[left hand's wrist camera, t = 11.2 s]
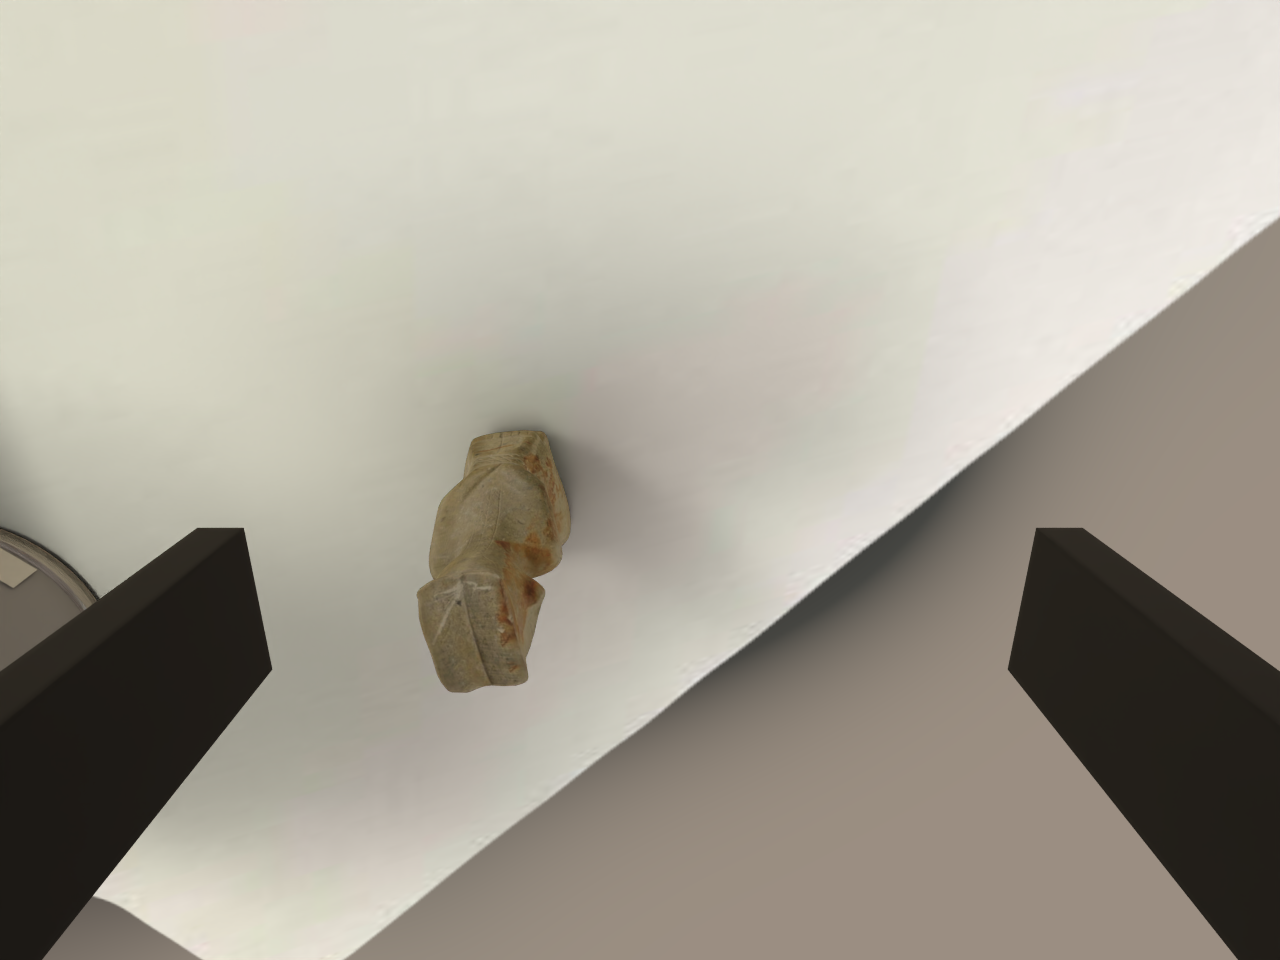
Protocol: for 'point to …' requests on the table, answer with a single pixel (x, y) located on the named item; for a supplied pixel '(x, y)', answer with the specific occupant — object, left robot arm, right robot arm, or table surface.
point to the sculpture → (493, 561)
